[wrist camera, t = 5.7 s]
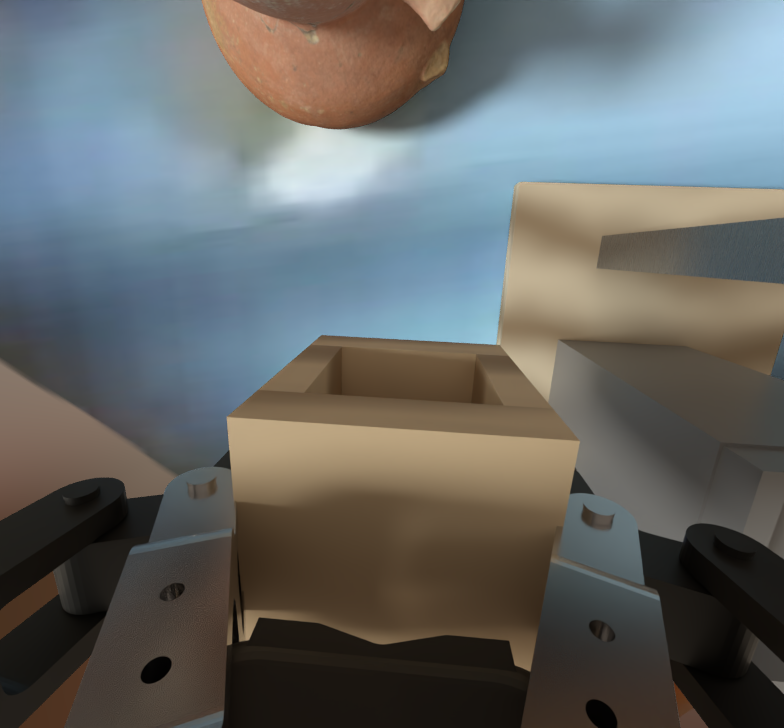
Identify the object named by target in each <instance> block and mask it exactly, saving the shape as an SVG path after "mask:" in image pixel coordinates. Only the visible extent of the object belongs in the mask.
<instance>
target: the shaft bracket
mask: <svg viewBox="0 0 784 728" xmlns="http://www.w3.org/2000/svg"><path fill="white" fill-rule="evenodd" d="M597 268H598V269H610V270H622V271H634V272H646V273H658V274H670V275H682V276H694V277H706V278H719V279H731V280H743V281H755V282H767V283H779V284H784V218H775V219H765V220H755V221H745V222H735V223H725V224H716V225H706V226H696V227H686V228H676V229H666V230H656V231H646V232H636V233H626V234H616V235H606V236H602V239H601V245H600V251H599V256H598V262H597Z"/></svg>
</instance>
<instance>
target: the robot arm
mask: <svg viewBox="0 0 784 728" xmlns="http://www.w3.org/2000/svg"><path fill="white" fill-rule="evenodd" d="M52 571H53V572H54V575H55V580H56V584H57V588H58V592H59V594H58V595H57V596H56V597H55V598H53V599H52V600H51V601H49V602H48V603H47V604H45V605H44V606H43V607H42V608H40V609H39V610H38V611H37V612H35V613H34V614H33V615H31V616H30V617H29V618H28V619H26V620H25V621H24V622H22V623H21V624H20V625H19V626H17V627H16V628H15V629H13V630H12V631H11V632H10V633H8V634H7V635H6V636H5V637H3V638H2V639H1V640H0V728H18V727H19V726H20V725H21V724H22V723H23V722H24V721H25V720H26V719H27V718H28V717H29V716H30V715H31V714H32V713H33V712H34V711H35V710H36V709H38V708H39V707H40V705H42V704H43V702H45V701H46V699H47V698H49V697H50V695H52V694H53V693H54V691H55V690H56V689H58V688H59V687H60V686H61V685H62V684H63V682H64V681H65V680H67V679H68V677H70V676H71V674H73V673H74V672H75V671H76V670H77V669H78V668H79V666H81V665H82V664H83V663H84V662H85V661H86V660H87V659H88V658H89V657H90V656H91V657H90V660H89V663H88V665H87V668H86V671H85V673H84V676H83V679H82V681H81V684H80V687H79V690H78V692H77V695H76V698H75V700H74V703H73V705H72V709H71V711H70V714H69V716H68V719H67V722H66V724H65V727H64V728H680V721H679V715H678V709H677V703H676V696H675V690H674V684H673V681H674V682H675V684H676V685H677V686H678V688H679V689H680V690H681V692H682V693H683V694H684V696H685V697H686V698H687V700H688V701H689V702H690V704H691V705H692V706H693V708H694V709H695V710H696V711H697V713H698V714H699V715H700V717H701V718H702V720H703V721H704V722H705V724H706V725H707V726H708V728H784V694H783V693H782V692H781V691H780V689H779V688H778V687H777V686H776V685H775V684H774V683H773V682H772V681H771V680H770V679H769V678H768V677H767V676H766V675H765V674H764V673H763V672H762V671H761V670H760V669H759V668H758V667H757V666H756V665H755V664H754V663H753V662H752V661H751V660H752V657H753V655H754V652H755V650H756V647H757V645H758V642H759V640H760V641H761V642H762V643H763V644H765V645H766V646H767V647H768V648H769V649H770V650H771V651H772V652H773V653H774V654H775V655H776V656H777V657H778V658H779V659H780V660H781V661H782V662H783V663H784V559H783V558H781V557H780V556H778V555H777V554H776V553H774V552H773V551H771V550H770V549H769V548H767V547H766V546H764V545H763V544H761V543H760V542H758V541H756V540H754V539H753V538H751V537H749V536H747V535H745V534H742V533H740V532H738V531H735V530H732V529H729V528H726V527H723V526H719V525H714V524H706V523H699V524H693V525H691V526H689V527H688V528H687V530H686V533H685V536H684V540H683V542H680V541H676V540H672V539H669V538H665V537H661V536H657V535H654V534H650V533H647V532H643V531H641V530H638V526H637V522H636V520H635V518H634V517H633V516H632V514H631V513H630V512H628V511H627V510H626V509H625V508H623V507H622V506H620V505H619V504H617V503H615V502H613V501H611V500H609V499H606V498H603V497H600V496H597V495H595V494H594V493H593V492H592V490H591V489H590V487H589V486H588V485H587V483H586V482H585V480H584V479H583V478H582V476H581V475H580V473H579V472H577V469H576V468H575V470H574V475H573V480H572V485H571V490H570V495H569V501H568V506H567V511H566V516H565V521H564V526H563V527H562V526H557V527H556V533H555V538H554V544H553V549H552V555H551V560H550V566H549V571H548V577H547V582H546V588H545V594H544V599H543V604H542V610H541V615H540V620H539V625H538V631H537V636H536V642H535V647H534V653H533V658H532V664H531V669H530V671H528V670H526V669H523V668H521V667H518V666H515V664H514V660H513V655H512V651H511V646H510V642H509V641H508V640H497V639H486V638H476V637H465V636H454V635H441V636H435V637H429V638H422V639H416V640H410V641H404V642H397V643H391V644H376V643H373V642H370V641H367V640H364V639H362V638H359V637H356V636H353V635H351V634H348V633H345V632H342V631H340V630H337V629H334V628H331V627H329V626H326V625H323V624H320V623H315V622H304V621H293V620H282V619H272V618H261V617H259V618H258V621H257V623H256V625H255V627H254V630H253V632H252V634H251V637H250V639H249V640H246V619H245V598H244V591H241V583H240V571H239V559H238V515H237V503H236V501H234V498H233V486H232V474H231V462H230V450H229V451H228V452H227V453H226V454H225V455H224V456H223V457H222V458H221V459H220V460H219V461H218V462H217V463H216V464H215V466H214V467H205V468H199V469H195V470H192V471H189V472H186V473H184V474H182V475H180V476H178V477H176V478H175V479H174V480H172V481H171V482H170V483H169V484H168V486H167V487H166V489H165V492H164V494H162V495H155V496H147V497H138V498H130V499H127V497H126V492H125V486H124V483H123V482H122V481H120V480H118V479H115V478H94V479H88V480H83V481H79V482H76V483H73V484H70V485H68V486H65V487H63V488H60V489H58V490H57V491H54V492H53V493H51V494H49V495H47V496H45V497H44V498H42V499H40V500H38V501H36V502H34V503H32V504H31V505H29V506H27V507H25V508H23V509H21V510H19V511H18V512H16V513H14V514H12V515H10V516H8V517H7V518H5V519H3V520H1V521H0V610H1V609H2V608H3V607H4V606H5V605H6V604H7V603H9V602H10V601H11V600H13V599H14V598H16V597H17V596H18V595H20V594H21V593H23V592H24V591H25V590H27V589H28V588H30V587H31V586H32V585H34V584H35V583H37V582H38V581H39V580H40V579H42V578H43V577H45V576H46V575H47V574H49V573H50V572H52Z"/></svg>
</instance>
